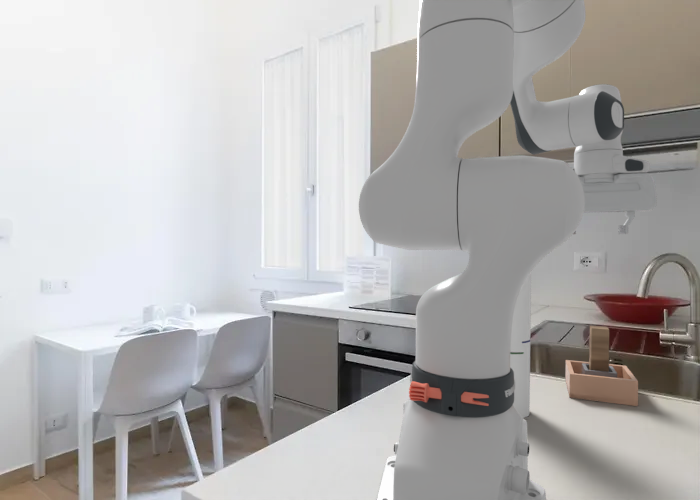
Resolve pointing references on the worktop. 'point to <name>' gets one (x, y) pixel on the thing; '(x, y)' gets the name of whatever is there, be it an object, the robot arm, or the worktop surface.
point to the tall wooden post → (599, 348)
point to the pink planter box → (601, 383)
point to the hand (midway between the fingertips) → (596, 234)
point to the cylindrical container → (521, 349)
